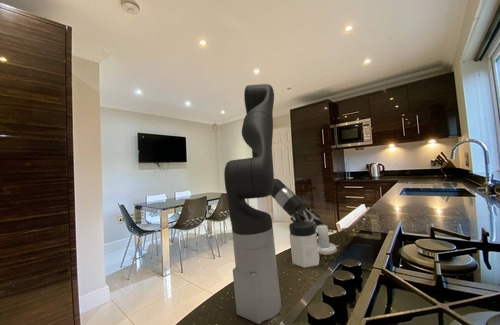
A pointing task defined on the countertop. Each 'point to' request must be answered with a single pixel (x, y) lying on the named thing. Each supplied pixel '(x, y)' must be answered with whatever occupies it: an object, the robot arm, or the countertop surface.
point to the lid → (324, 241)
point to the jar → (304, 244)
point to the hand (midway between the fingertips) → (321, 233)
